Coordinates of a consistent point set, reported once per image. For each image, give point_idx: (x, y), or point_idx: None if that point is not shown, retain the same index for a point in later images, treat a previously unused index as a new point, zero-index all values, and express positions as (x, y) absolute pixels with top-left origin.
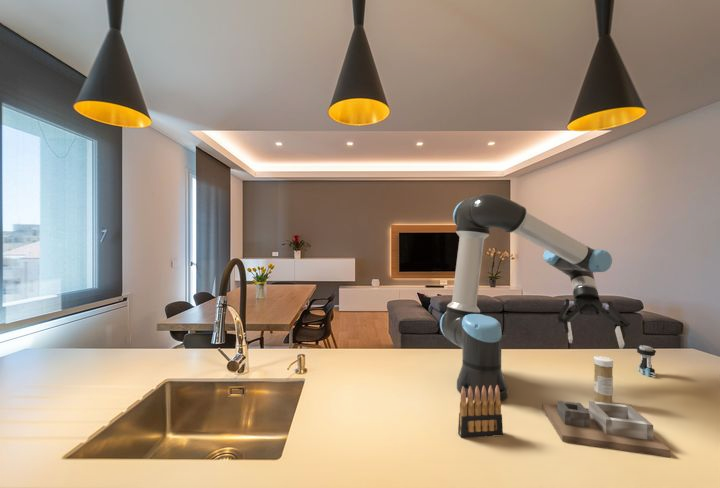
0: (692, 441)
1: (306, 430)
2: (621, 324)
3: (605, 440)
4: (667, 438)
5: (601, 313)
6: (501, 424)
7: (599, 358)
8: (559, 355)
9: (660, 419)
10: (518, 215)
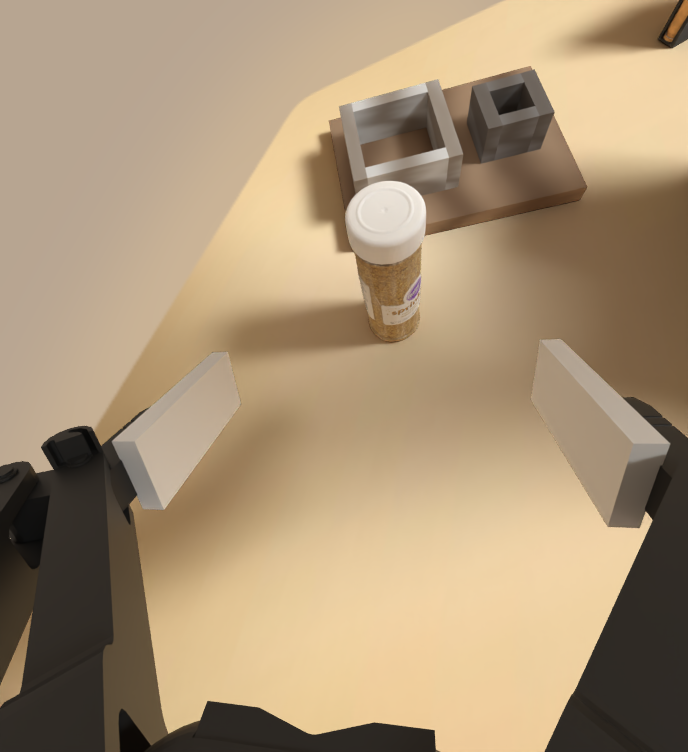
0: (258, 211)
1: None
2: (80, 432)
3: (442, 91)
4: (303, 199)
5: (126, 663)
6: (677, 5)
7: (405, 193)
8: None
9: (274, 287)
10: None
